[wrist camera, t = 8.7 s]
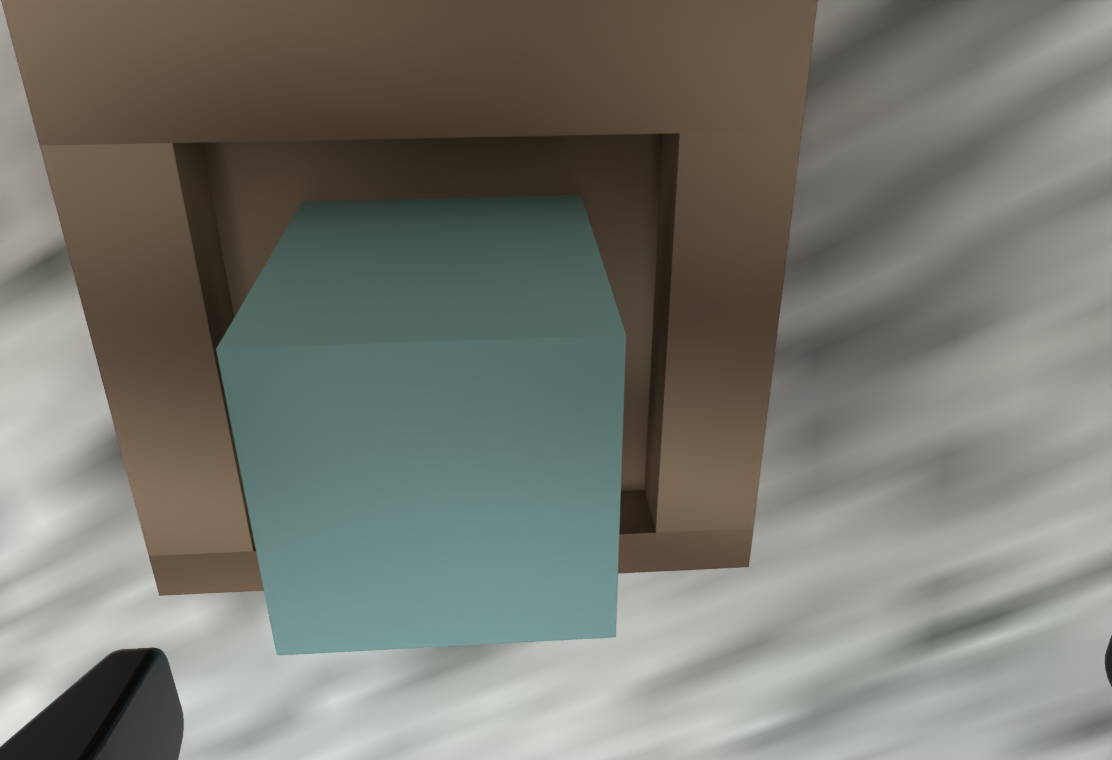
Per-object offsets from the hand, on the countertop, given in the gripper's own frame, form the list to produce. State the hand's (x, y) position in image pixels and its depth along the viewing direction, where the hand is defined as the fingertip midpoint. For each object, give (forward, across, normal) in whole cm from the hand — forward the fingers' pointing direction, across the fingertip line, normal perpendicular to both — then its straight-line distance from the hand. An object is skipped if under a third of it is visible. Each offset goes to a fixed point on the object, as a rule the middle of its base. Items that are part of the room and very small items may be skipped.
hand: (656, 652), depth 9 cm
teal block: (+10, +2, +1) cm, 10 cm away
